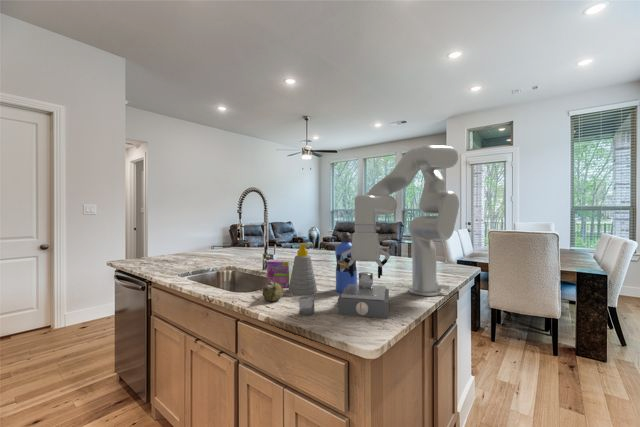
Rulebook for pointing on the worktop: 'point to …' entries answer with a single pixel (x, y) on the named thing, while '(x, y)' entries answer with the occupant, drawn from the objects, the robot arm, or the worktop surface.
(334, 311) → the worktop surface
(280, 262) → the box
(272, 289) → the onion
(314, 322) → the worktop surface
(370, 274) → the cylinder
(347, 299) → the base
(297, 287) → the soap bottle
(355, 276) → the blue bottle
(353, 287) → the pan
